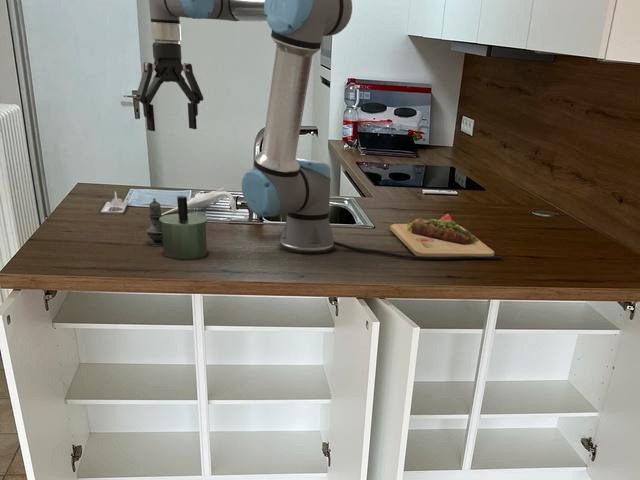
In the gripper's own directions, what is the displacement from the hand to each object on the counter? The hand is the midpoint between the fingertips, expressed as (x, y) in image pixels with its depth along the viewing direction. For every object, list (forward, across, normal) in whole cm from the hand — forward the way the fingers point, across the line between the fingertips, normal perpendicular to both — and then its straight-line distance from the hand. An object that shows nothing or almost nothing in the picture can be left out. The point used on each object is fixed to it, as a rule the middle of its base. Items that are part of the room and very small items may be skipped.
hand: (172, 129), depth 210 cm
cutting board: (+27, -54, +57) cm, 83 cm away
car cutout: (+27, +3, -32) cm, 42 cm away
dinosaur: (+27, -18, -13) cm, 35 cm away
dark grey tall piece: (+27, +16, +13) cm, 34 cm away
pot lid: (+18, +15, +26) cm, 35 cm away
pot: (+27, +15, +26) cm, 40 cm away
